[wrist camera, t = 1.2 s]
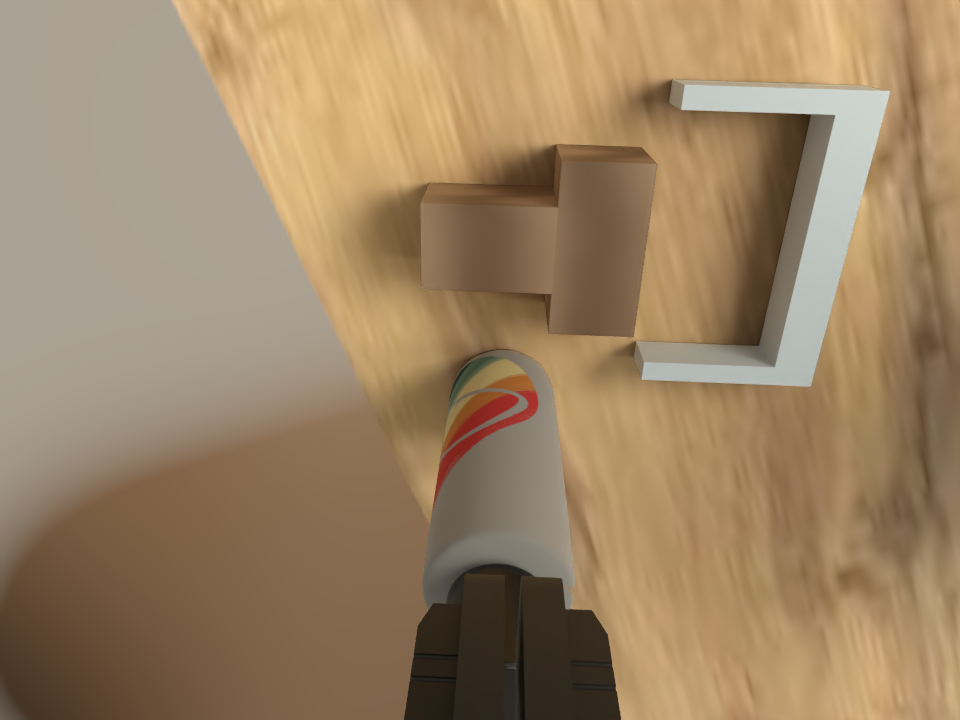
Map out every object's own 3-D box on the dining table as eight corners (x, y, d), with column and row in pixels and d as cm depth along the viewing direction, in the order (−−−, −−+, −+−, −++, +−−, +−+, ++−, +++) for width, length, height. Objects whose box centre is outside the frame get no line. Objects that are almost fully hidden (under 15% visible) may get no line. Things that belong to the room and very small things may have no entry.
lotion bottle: (445, 351, 38) (388, 652, 20) (550, 342, 38) (586, 643, 20) (457, 439, 41) (417, 776, 23) (556, 432, 40) (593, 771, 22)
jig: (863, 85, 31) (890, 91, 29) (792, 364, 38) (810, 386, 35) (672, 79, 32) (684, 84, 29) (633, 357, 38) (641, 379, 36)
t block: (641, 147, 33) (657, 163, 29) (621, 305, 37) (633, 337, 33) (429, 140, 33) (419, 156, 30) (430, 297, 37) (421, 328, 33)
